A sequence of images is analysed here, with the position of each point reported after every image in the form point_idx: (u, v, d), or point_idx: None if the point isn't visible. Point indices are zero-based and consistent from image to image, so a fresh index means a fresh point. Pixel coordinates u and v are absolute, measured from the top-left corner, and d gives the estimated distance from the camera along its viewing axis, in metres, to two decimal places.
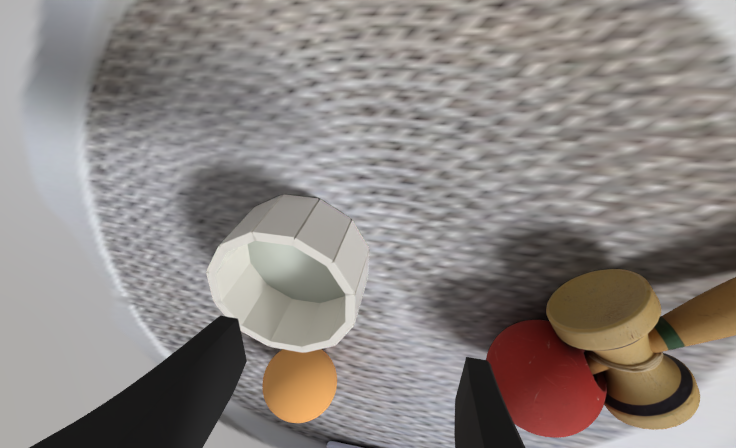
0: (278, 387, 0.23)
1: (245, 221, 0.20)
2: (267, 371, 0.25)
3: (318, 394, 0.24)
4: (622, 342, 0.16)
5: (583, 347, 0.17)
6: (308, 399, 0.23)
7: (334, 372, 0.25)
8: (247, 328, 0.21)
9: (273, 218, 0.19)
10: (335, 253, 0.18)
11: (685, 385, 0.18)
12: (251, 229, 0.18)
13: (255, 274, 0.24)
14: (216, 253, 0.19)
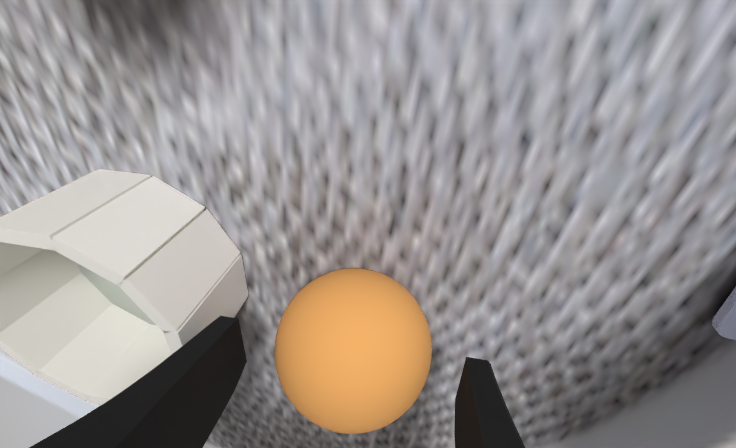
0: (288, 398, 0.11)
1: None
2: None
3: (304, 335, 0.10)
4: None
5: None
6: (299, 361, 0.10)
7: (332, 276, 0.12)
8: None
9: None
10: None
11: None
12: None
13: None
14: (49, 381, 0.14)
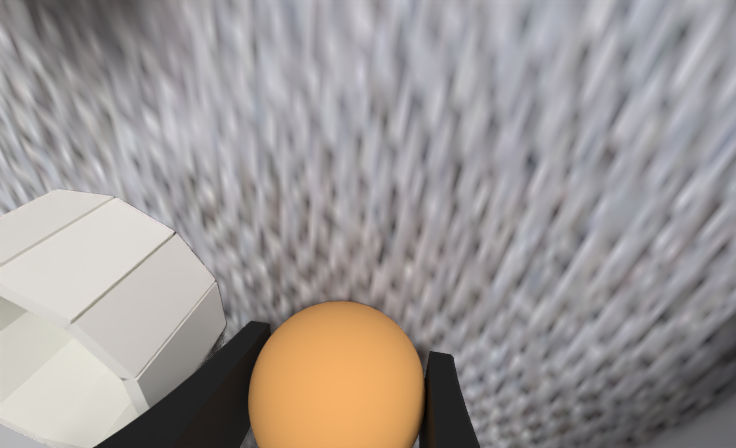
0: None
1: None
2: None
3: (278, 386, 0.09)
4: None
5: None
6: (272, 417, 0.09)
7: (313, 313, 0.10)
8: None
9: None
10: None
11: None
12: None
13: None
14: (3, 424, 0.13)
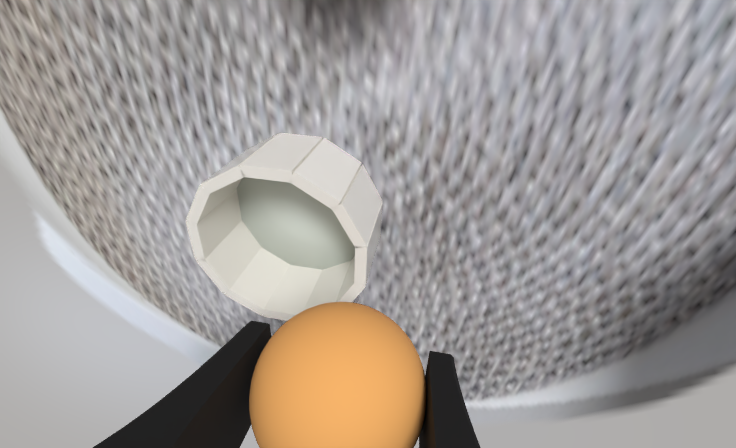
0: None
1: None
2: None
3: (280, 387, 0.09)
4: None
5: None
6: (273, 418, 0.09)
7: (314, 314, 0.10)
8: None
9: None
10: (208, 179, 0.16)
11: None
12: None
13: (332, 269, 0.20)
14: (234, 299, 0.18)
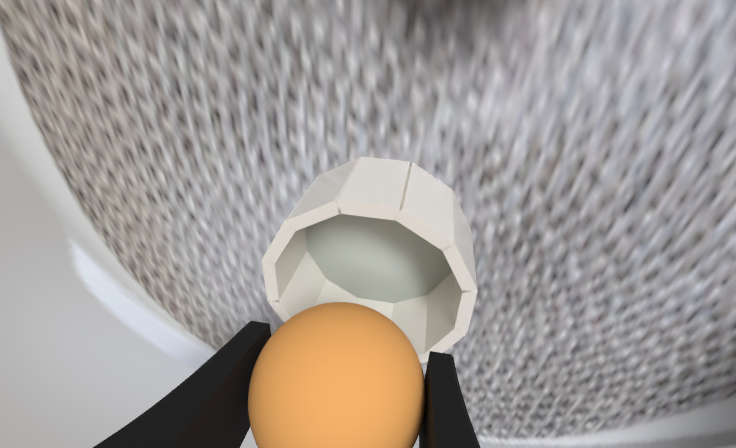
0: None
1: None
2: None
3: (278, 388, 0.09)
4: None
5: None
6: (272, 418, 0.09)
7: (313, 314, 0.10)
8: (432, 348, 0.15)
9: None
10: (290, 213, 0.14)
11: None
12: None
13: (406, 303, 0.18)
14: None
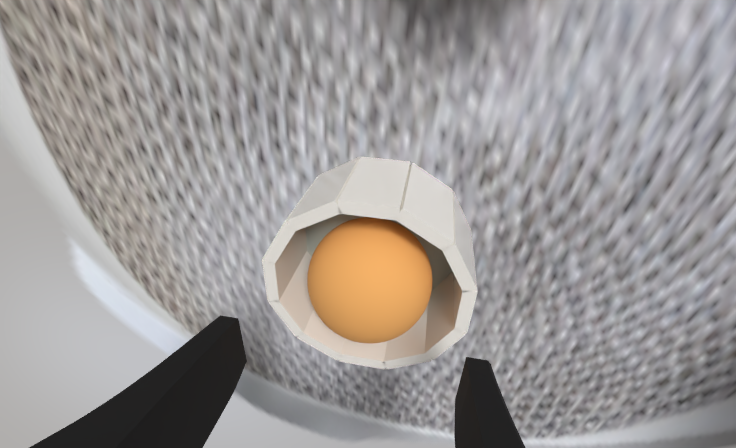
0: (319, 316, 0.14)
1: None
2: None
3: (333, 261, 0.13)
4: None
5: None
6: (330, 280, 0.13)
7: (353, 221, 0.15)
8: (432, 348, 0.15)
9: None
10: (290, 213, 0.14)
11: None
12: None
13: None
14: (308, 343, 0.16)
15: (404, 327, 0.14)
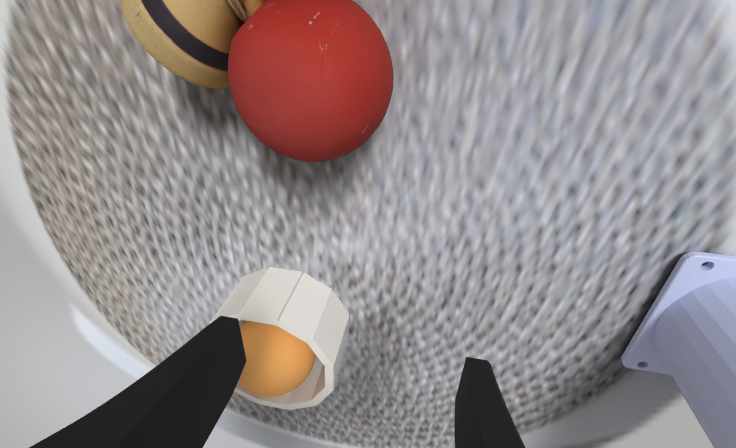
0: None
1: None
2: None
3: None
4: (147, 25, 0.12)
5: (192, 63, 0.13)
6: None
7: None
8: (315, 398, 0.23)
9: None
10: (216, 314, 0.21)
11: None
12: None
13: None
14: (235, 391, 0.24)
15: (290, 387, 0.21)
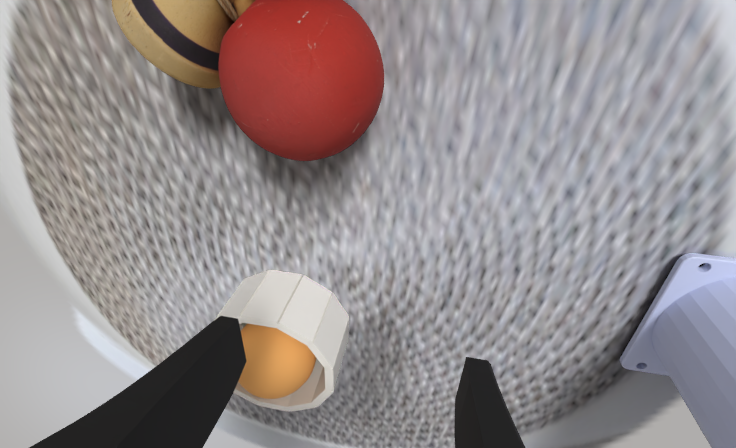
0: None
1: None
2: None
3: (244, 349, 0.21)
4: (138, 25, 0.12)
5: (183, 63, 0.13)
6: None
7: None
8: (315, 399, 0.23)
9: None
10: None
11: None
12: None
13: None
14: (236, 393, 0.24)
15: (292, 389, 0.21)
